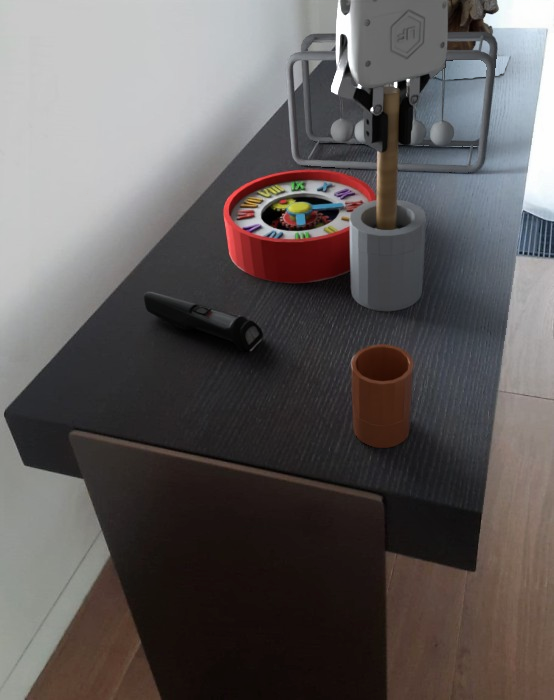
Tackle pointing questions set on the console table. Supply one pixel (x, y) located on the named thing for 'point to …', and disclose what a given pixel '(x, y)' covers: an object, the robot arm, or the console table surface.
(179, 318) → the electric trimmer
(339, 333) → the console table surface
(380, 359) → the pot
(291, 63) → the newton's cradle
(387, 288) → the grey hollow cylinder
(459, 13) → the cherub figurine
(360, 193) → the toy clock
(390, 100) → the brush
